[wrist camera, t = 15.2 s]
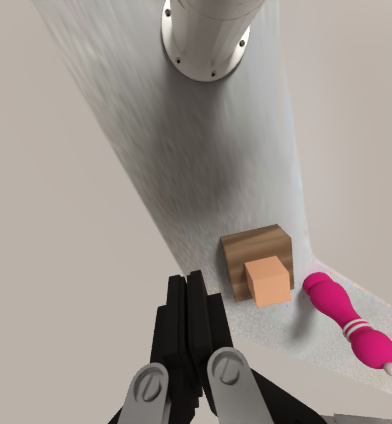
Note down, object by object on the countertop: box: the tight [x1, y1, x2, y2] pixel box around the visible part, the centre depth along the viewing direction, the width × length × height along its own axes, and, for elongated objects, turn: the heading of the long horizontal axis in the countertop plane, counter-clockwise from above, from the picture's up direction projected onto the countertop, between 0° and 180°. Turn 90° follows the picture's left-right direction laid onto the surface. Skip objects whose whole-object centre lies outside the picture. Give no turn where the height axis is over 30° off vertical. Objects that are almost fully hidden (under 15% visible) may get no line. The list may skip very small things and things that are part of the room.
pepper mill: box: [303, 272, 392, 376], centre depth 40 cm, size 7×7×20 cm
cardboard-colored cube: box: [245, 256, 291, 308], centre depth 37 cm, size 6×6×5 cm
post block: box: [221, 224, 294, 302], centre depth 42 cm, size 12×12×6 cm
